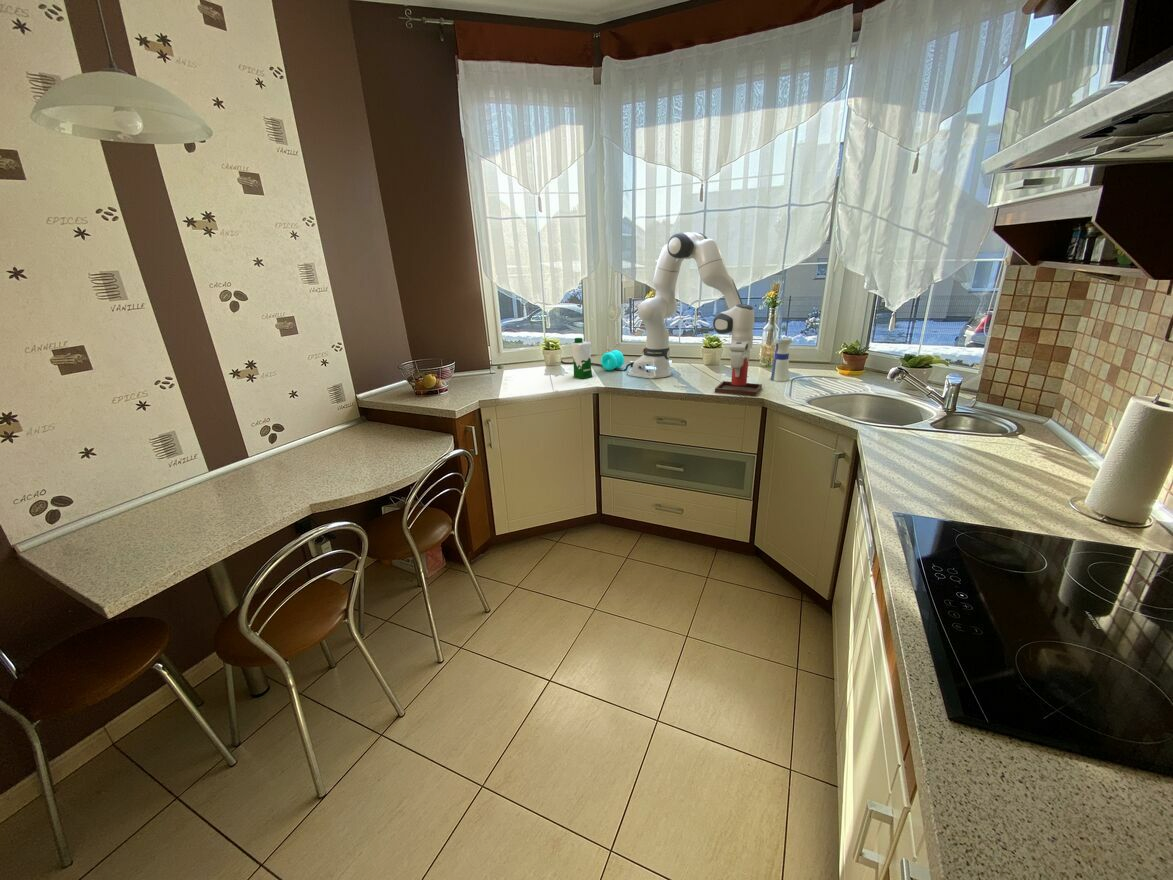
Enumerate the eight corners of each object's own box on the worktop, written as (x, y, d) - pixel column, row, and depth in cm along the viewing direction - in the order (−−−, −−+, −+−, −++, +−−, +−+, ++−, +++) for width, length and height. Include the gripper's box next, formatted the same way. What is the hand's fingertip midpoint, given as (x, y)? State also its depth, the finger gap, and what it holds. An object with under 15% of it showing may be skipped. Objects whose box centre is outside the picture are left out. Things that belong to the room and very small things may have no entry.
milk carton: (583, 374, 257) (581, 336, 249) (595, 376, 250) (593, 338, 243) (571, 377, 251) (568, 339, 244) (582, 379, 245) (580, 340, 238)
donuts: (625, 368, 265) (625, 350, 261) (615, 372, 258) (614, 353, 254) (610, 366, 271) (610, 348, 267) (600, 370, 264) (599, 352, 260)
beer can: (747, 386, 209) (749, 359, 205) (731, 386, 211) (733, 359, 206) (745, 383, 215) (747, 356, 211) (730, 382, 217) (732, 356, 212)
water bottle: (766, 377, 232) (771, 325, 223) (783, 376, 233) (788, 324, 224) (774, 382, 224) (779, 328, 215) (791, 380, 225) (797, 327, 216)
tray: (714, 392, 212) (714, 388, 212) (722, 385, 223) (722, 381, 223) (755, 396, 204) (755, 392, 203) (761, 388, 215) (762, 384, 214)
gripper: (739, 338, 216) (737, 368, 221) (728, 347, 200) (726, 379, 205) (754, 339, 213) (751, 369, 218) (744, 347, 197) (741, 380, 202)
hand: (739, 374), depth 211 cm, fingers closed on beer can, 6 cm apart
